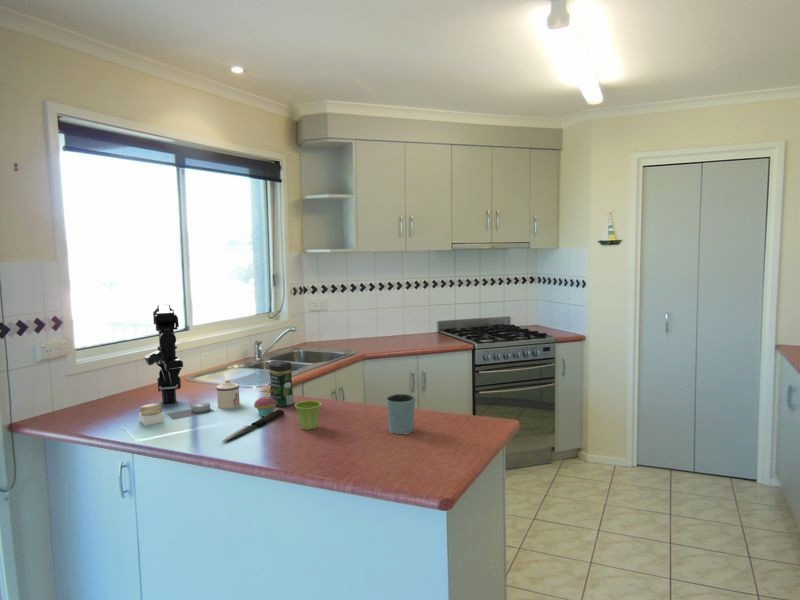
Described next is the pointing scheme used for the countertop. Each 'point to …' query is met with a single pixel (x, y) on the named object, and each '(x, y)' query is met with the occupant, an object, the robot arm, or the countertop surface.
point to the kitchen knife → (255, 425)
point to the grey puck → (200, 408)
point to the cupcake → (265, 405)
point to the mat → (185, 414)
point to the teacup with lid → (228, 395)
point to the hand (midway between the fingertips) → (169, 382)
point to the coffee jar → (281, 382)
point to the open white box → (151, 419)
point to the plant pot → (308, 414)
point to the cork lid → (151, 409)
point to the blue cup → (401, 413)
